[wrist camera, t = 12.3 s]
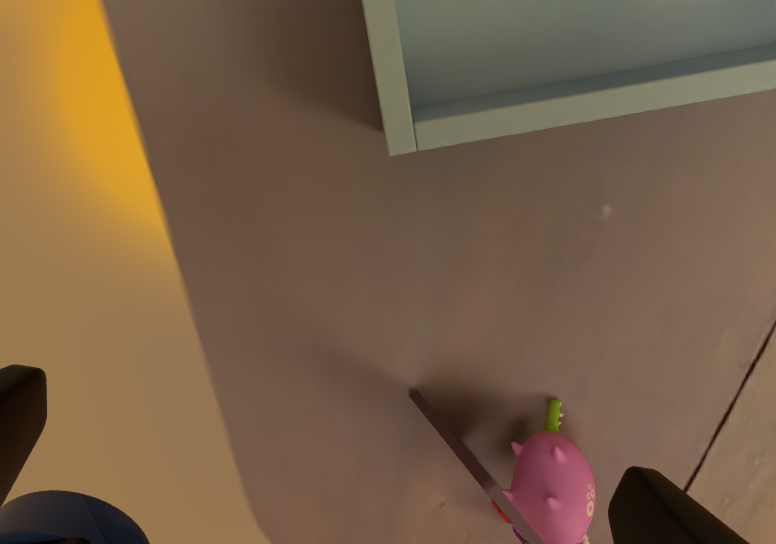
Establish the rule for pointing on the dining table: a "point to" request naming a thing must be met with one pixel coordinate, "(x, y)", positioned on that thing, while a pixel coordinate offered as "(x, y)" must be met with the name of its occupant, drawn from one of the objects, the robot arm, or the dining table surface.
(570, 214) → the dining table surface
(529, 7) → the gray tray
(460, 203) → the dining table surface
